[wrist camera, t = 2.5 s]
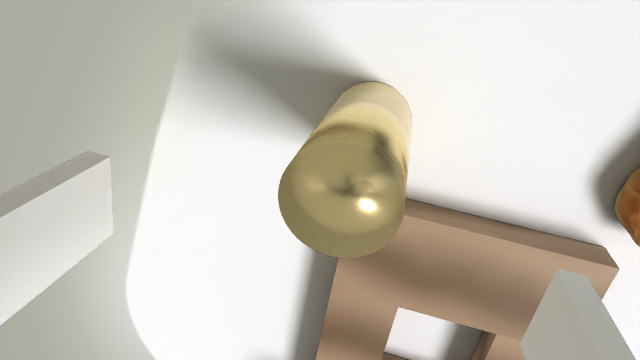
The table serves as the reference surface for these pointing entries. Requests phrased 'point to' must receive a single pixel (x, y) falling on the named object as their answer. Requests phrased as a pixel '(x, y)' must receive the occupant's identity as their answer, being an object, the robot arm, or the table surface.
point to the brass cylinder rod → (351, 174)
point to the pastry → (630, 206)
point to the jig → (452, 282)
